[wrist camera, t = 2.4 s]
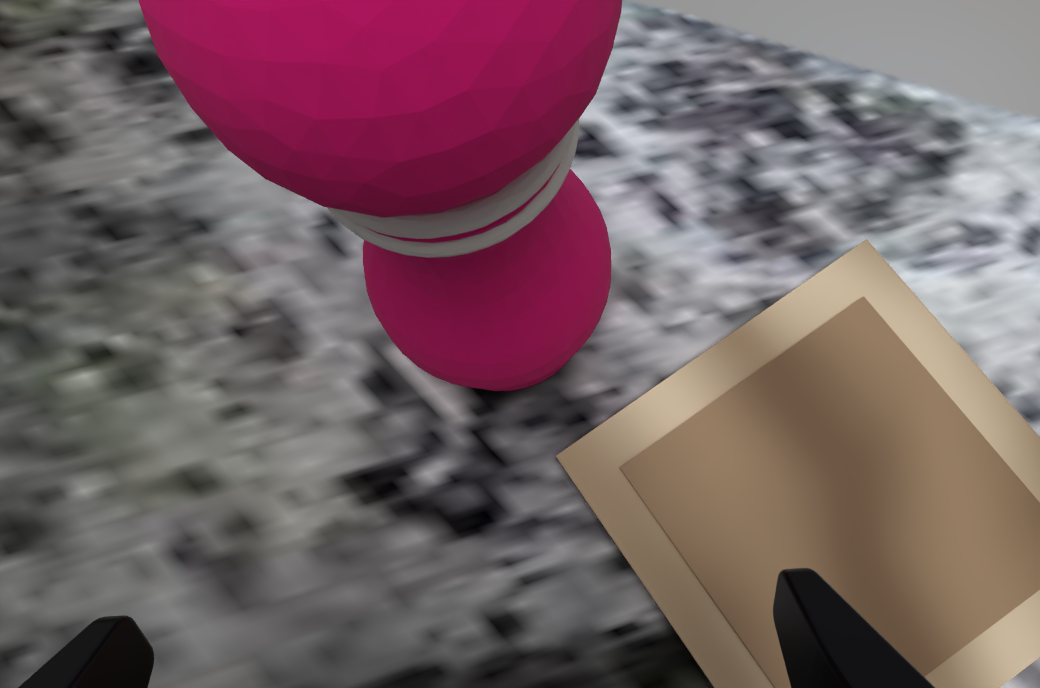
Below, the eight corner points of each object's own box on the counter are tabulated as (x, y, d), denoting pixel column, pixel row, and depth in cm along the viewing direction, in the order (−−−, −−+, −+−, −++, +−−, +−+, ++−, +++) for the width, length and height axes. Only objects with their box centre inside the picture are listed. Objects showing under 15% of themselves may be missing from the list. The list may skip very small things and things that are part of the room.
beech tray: (802, 817, 20) (814, 834, 19) (555, 456, 23) (555, 455, 22) (1133, 565, 21) (1160, 569, 20) (856, 247, 24) (869, 237, 23)
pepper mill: (364, 324, 24) (-454, -334, 5) (487, 176, 25) (220, -884, 6) (520, 447, 23) (260, 229, 3) (644, 287, 24) (988, -601, 4)
